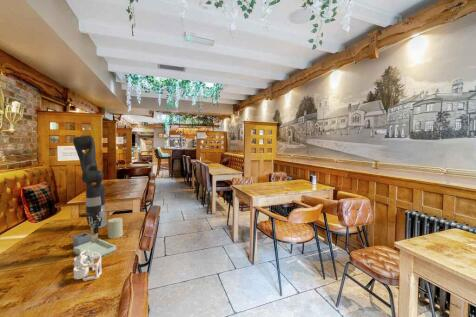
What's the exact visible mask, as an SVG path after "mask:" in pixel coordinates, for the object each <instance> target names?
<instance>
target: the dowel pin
mask: <svg viewBox="0 0 476 317" xmlns="http://www.w3.org/2000/svg"><path fill="white" fill-rule="evenodd" d="M90 234H91V243H96V242H98V239H99V232H98V233H97V234H94V226H93V225H91V232H90Z"/></svg>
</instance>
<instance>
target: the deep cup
mask: <svg viewBox="0 0 476 317" xmlns="http://www.w3.org/2000/svg"><path fill="white" fill-rule="evenodd" d="M88 242H91V233H88V232H82V233H79V234H76V235H72V246H73V248H74V247H77V246H79V245H82V244H85V243H88Z"/></svg>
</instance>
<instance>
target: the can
mask: <svg viewBox="0 0 476 317" xmlns="http://www.w3.org/2000/svg"><path fill="white" fill-rule="evenodd" d="M123 222H124V220H123V218H122V217H112V218H109V219H108V220H107V232H108V233H107V238H108V239H111V240H112V239H119V238H121V237H122V236H124V231H123V227H124V225H123Z"/></svg>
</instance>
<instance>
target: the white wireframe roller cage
mask: <svg viewBox="0 0 476 317" xmlns="http://www.w3.org/2000/svg"><path fill="white" fill-rule="evenodd" d="M87 252H88V253H89V254H91V262H90V261H88V256H87ZM83 253H85V255H82V254H83ZM93 254H94V255H96V256H93ZM95 258H99V259H98V261H97V262H96V263H95V260H94V259H95ZM89 268H91V271H92V272H93V271H95V276H94V275H92V276H88V275H89V274H90V273H89V271H90V269H89ZM102 271H103V270H102V257H101V254H99V253H96V252H90V251H89V250H88V249H87V250H84V251H82V252H81V253H80V256H79V255H77V256H75V257H74V258H73V279H74V280H80V279H82V280H83V281H84V282H87V281H90V280H98V279H99V278H100V275H102Z"/></svg>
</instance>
